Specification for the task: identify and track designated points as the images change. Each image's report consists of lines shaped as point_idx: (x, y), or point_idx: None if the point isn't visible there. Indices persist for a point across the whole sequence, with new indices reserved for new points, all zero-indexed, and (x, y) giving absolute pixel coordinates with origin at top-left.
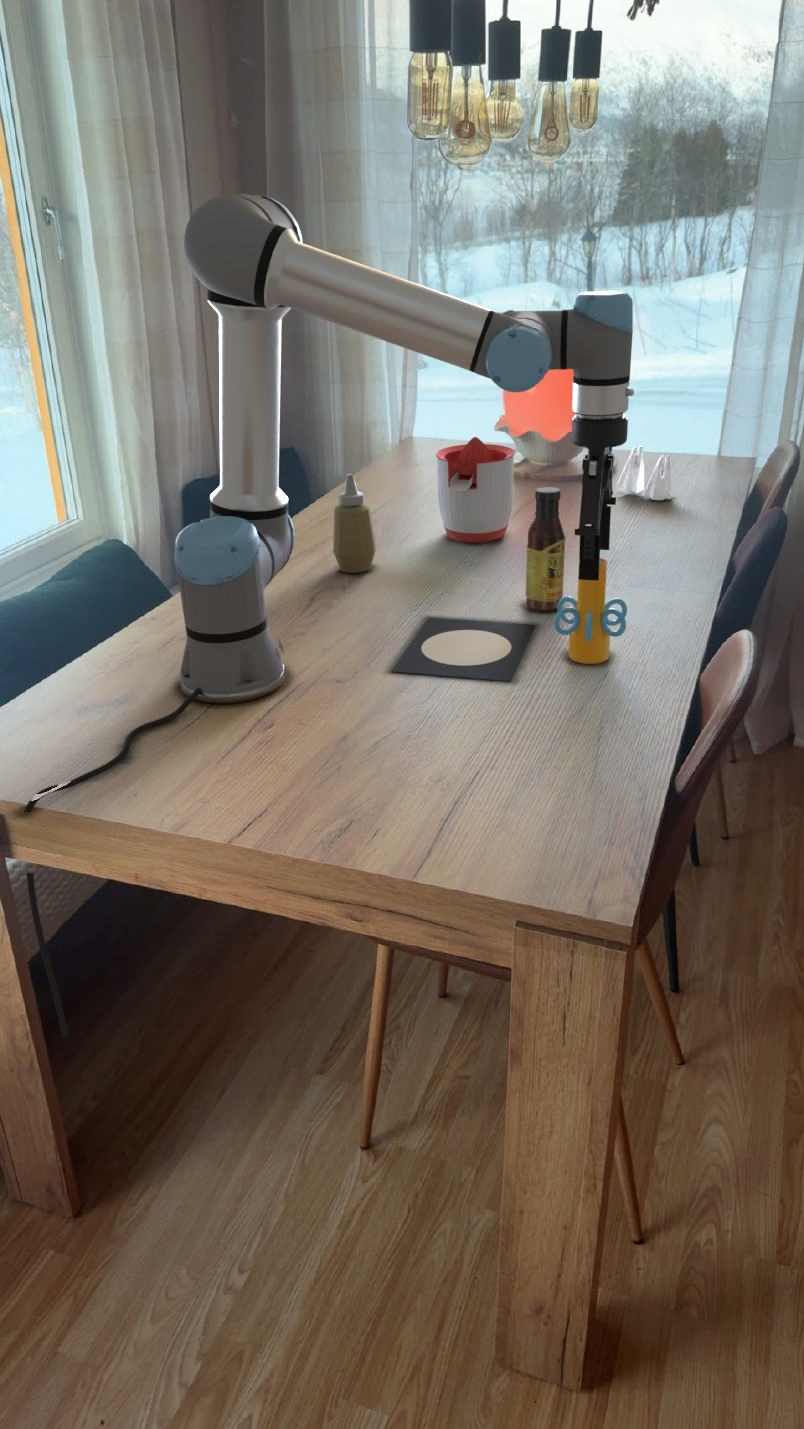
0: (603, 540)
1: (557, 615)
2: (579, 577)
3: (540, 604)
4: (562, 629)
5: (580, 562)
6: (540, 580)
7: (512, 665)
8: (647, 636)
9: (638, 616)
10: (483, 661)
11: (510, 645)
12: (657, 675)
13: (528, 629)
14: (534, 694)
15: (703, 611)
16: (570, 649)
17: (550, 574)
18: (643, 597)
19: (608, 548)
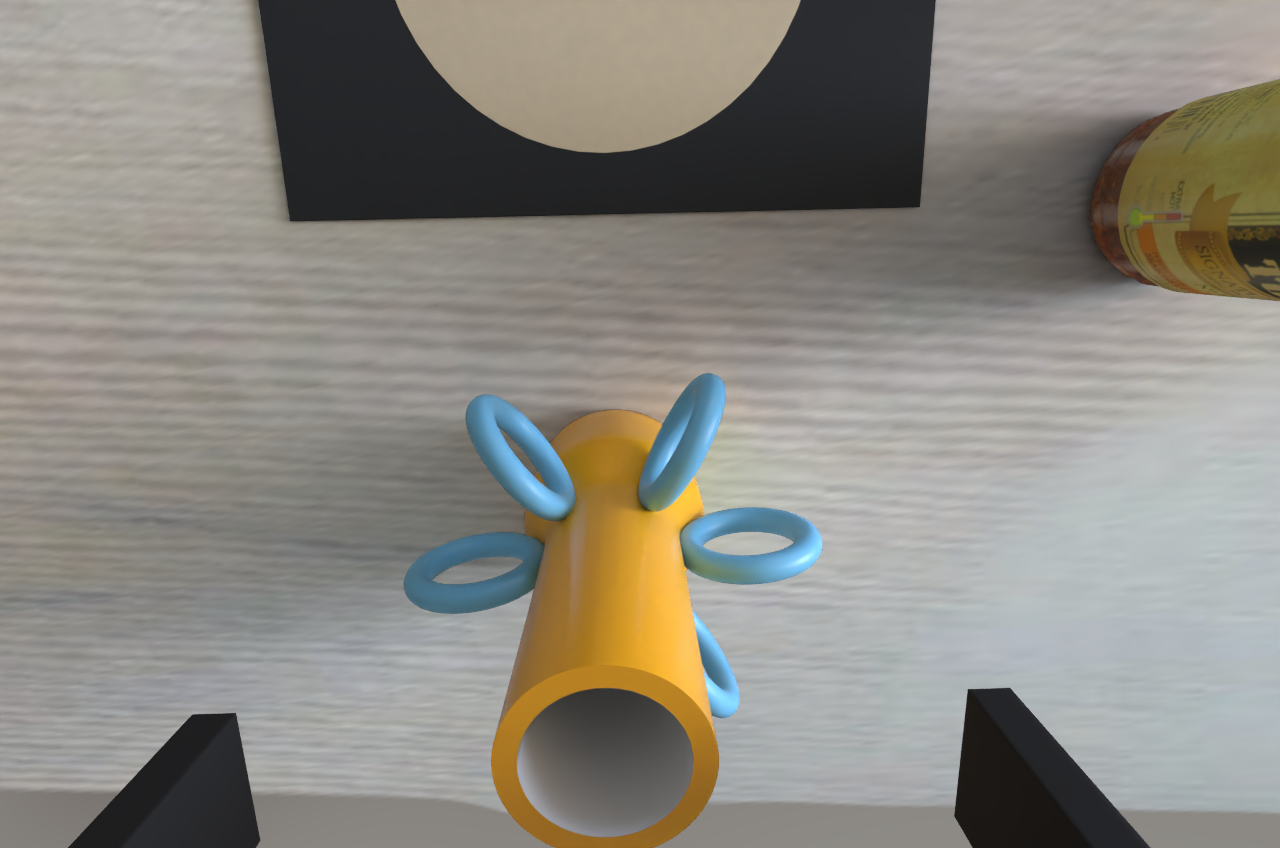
0: (1002, 845)
1: (467, 426)
2: (180, 733)
3: (1109, 196)
4: (507, 428)
5: (82, 844)
6: (1216, 182)
7: (447, 196)
8: (854, 655)
9: (1056, 605)
10: (452, 51)
11: (658, 139)
12: None
13: (861, 185)
14: (215, 341)
15: (1117, 805)
16: (573, 429)
17: (1249, 241)
18: (1270, 601)
19: (961, 825)
